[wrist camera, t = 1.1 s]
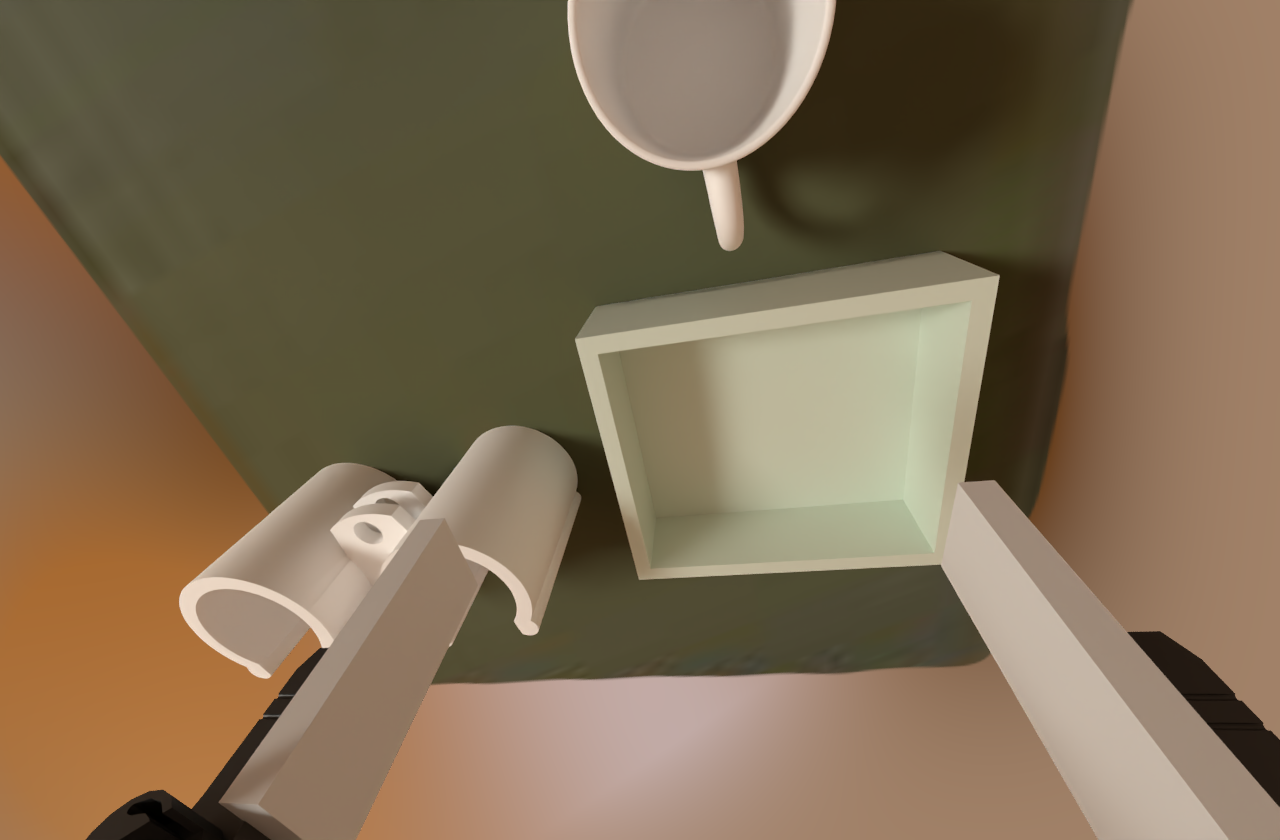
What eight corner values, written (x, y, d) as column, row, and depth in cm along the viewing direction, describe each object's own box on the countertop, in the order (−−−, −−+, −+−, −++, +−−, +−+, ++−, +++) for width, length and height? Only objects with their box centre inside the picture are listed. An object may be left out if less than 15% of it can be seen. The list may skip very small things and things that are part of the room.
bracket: (545, 405, 34) (479, 517, 24) (595, 506, 38) (557, 640, 28) (286, 476, 40) (143, 591, 30) (354, 557, 45) (249, 681, 34)
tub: (596, 306, 30) (574, 339, 25) (940, 250, 26) (999, 275, 21) (646, 521, 38) (639, 579, 33) (912, 502, 35) (950, 563, 30)
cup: (771, -77, 21) (826, -243, 12) (800, 211, 26) (852, 243, 17) (593, -6, 22) (527, -105, 14) (655, 250, 28) (636, 296, 19)
